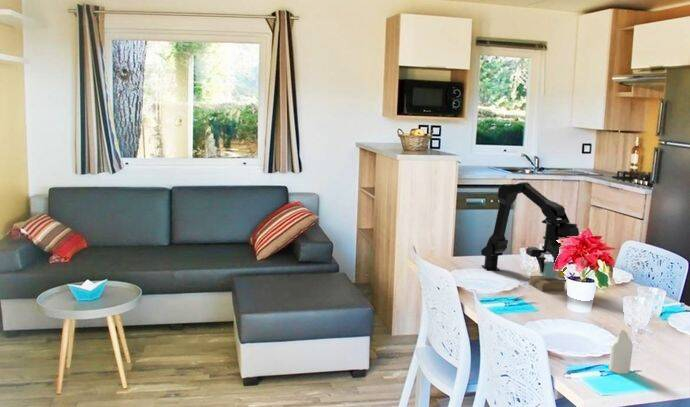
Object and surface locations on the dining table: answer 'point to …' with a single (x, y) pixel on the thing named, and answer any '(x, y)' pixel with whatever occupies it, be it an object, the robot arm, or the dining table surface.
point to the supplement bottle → (561, 274)
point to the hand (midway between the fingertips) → (548, 272)
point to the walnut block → (547, 283)
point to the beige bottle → (621, 354)
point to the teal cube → (549, 270)
